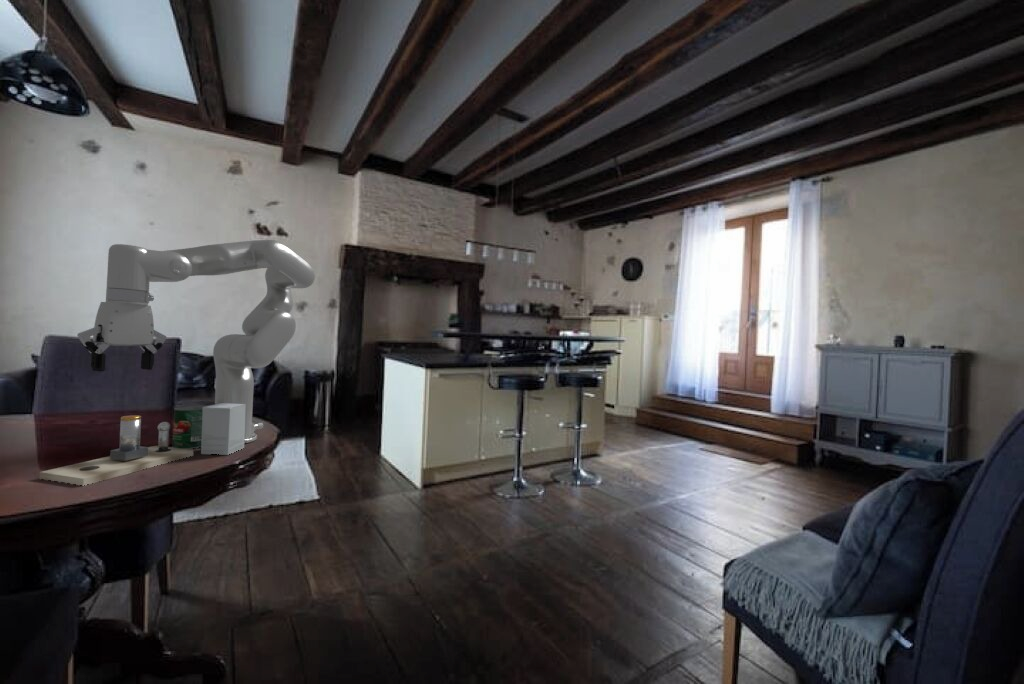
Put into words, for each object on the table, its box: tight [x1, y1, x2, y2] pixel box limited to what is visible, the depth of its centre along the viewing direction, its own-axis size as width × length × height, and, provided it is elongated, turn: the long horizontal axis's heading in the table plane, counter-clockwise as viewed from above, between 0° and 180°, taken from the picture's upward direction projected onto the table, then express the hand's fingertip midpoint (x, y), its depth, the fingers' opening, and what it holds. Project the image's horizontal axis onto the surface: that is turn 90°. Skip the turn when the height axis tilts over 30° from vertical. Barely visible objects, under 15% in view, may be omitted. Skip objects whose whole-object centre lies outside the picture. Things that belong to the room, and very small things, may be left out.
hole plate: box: [39, 445, 194, 487], centre depth 100 cm, size 24×12×2 cm, turn 168°
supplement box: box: [200, 403, 246, 456], centre depth 116 cm, size 7×7×13 cm
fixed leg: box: [157, 421, 172, 451], centre depth 109 cm, size 3×3×7 cm
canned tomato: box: [171, 404, 209, 450], centre depth 120 cm, size 8×8×11 cm
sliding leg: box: [109, 414, 149, 461], centre depth 101 cm, size 5×4×10 cm
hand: (123, 370), depth 101 cm, fingers open, 9 cm apart
